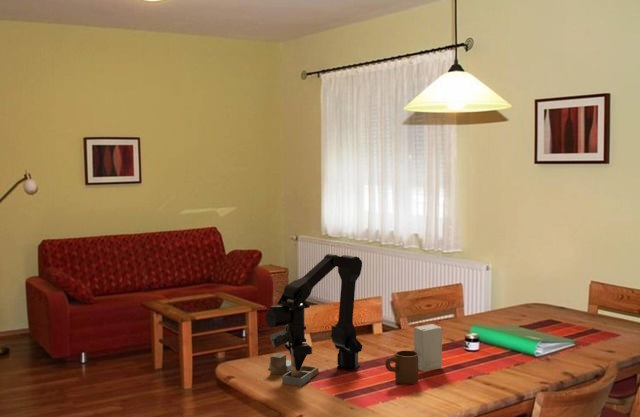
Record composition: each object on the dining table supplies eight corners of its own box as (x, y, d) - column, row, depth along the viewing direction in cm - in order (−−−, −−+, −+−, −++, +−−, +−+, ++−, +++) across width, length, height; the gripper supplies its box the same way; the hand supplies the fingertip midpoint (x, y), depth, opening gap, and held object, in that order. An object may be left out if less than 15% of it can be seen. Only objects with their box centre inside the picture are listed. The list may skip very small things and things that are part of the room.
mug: (391, 388, 221) (391, 360, 220) (379, 381, 227) (379, 353, 227) (422, 382, 226) (422, 354, 225) (409, 376, 233) (409, 349, 232)
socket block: (318, 373, 237) (318, 367, 237) (311, 378, 231) (311, 372, 231) (302, 370, 239) (302, 365, 239) (295, 375, 234) (295, 370, 234)
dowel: (300, 375, 230) (300, 349, 230) (303, 378, 227) (303, 352, 226) (289, 376, 229) (289, 350, 229) (292, 380, 226) (292, 353, 225)
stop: (286, 371, 239) (286, 354, 238) (280, 374, 235) (280, 357, 235) (276, 370, 240) (275, 353, 240) (270, 373, 237) (270, 356, 236)
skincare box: (432, 364, 246) (433, 323, 245) (442, 368, 240) (443, 327, 239) (413, 367, 242) (413, 326, 241) (422, 372, 237) (423, 329, 236)
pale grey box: (297, 368, 244) (297, 361, 243) (287, 373, 238) (287, 366, 238) (279, 364, 248) (279, 358, 248) (269, 369, 243) (269, 362, 243)
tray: (310, 379, 230) (310, 372, 230) (301, 386, 224) (301, 378, 223) (291, 377, 233) (291, 369, 233) (282, 383, 226) (282, 376, 226)
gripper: (266, 317, 233) (267, 362, 235) (277, 331, 215) (278, 380, 217) (298, 315, 236) (298, 359, 238) (312, 328, 218) (312, 376, 220)
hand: (296, 368), depth 228 cm, fingers open, 4 cm apart
